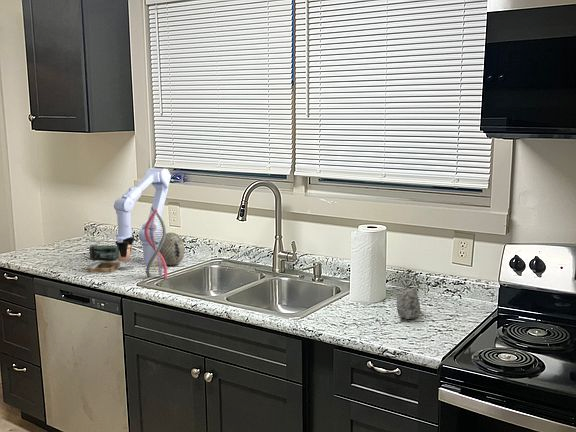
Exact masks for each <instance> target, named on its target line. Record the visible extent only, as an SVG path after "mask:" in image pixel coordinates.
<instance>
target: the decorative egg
mask: <svg viewBox="0 0 576 432" xmlns="http://www.w3.org/2000/svg"><path fill="white" fill-rule="evenodd" d="M161 240H162V239H161ZM160 242H161V241H160ZM159 245H160V243H159ZM185 250H186V249H185V244H184V240H182V238H181V236H180V235H178V234H177V233H175V232H166V237H165V241H164V243H163V246H162V248H161V249H160V251H159V252H160V254H161V255H162V256H163V258H164V260H165V262H166V265H169V266H175V265H178V264H179V263H180V262H182V260H183V259H184V257H185V252H186V251H185Z"/></svg>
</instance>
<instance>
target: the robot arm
mask: <svg viewBox="0 0 576 432" xmlns="http://www.w3.org/2000/svg"><path fill="white" fill-rule="evenodd" d="M144 173H145V174H144V176H143V177H142V179H141V180H140V181H139V182H138V183H137V184H136V185H135V186H131V187H129V188H128V190H127V191H126V192H125V193H124V194H123V195H122V196H121V197H119V198H117V199H116V200H115V201H114V204H113V209H114V210H115V214H116V217H117V218H116V219H117V234H115V237H116V238H117V240H116V241H115V244H116V245H115V246H118V248H119V251H120V255H121V257H126V255H127V247H128V244H130V245H131V248H130V253H131V251H132V246H133V242H134V240H135V237H134V236H133V231H132V219H131V213H132V210H133V208H134V205H135V203H136V202H137V201H138V200H139V198H141V197H142V192H143V191H144V190H145V189H147V188H148V187H149V186H151V185H152V186H153V187H154V189H155V191H154V192H155V193H154V195H153V200H152V204H151V207H154V209H157V210H158V214H159V215H160V216H161V217H162V215H163V211H164V206H165V204H166V203H165V202H166V200H167V196H168V193H169V186H170V182H171V179H172V175H171V173H170V171H169V169H167V168H159V167H158V168H156V167H150V168H149V167H148V169H147V170H146V171H145V172H144ZM149 210H150V211H149V215H148V218H147V220H148V219H149V218H150V217H151V215H152V213H153V211H152V209H151V208H150V209H149ZM155 216H156V215H155ZM156 217H157V216H156ZM156 217H154V218H156ZM156 219H159V218H156ZM156 219H154V220H155V221H160V220H156ZM155 221H153V222H154V223H158V224H154V223H150V224H153V225H158V226H153V227H157V228H152V229H155V230H153V232H163V231H158V230H163V229H160V228H162V227H160V226H161V225H160V224H161V223H160V222H155ZM146 224H147V221H146V222H145V223H144V224H142V227H141V229H140V230H139V232H138V239H139V240H140V242H141V244H142V254H143V255H142V256H143V259H142V261H141V262H140V264H148V263H149V261H150V260H151V258H152V256H153V255H154V253H155V250H154V249H153V248H152V247H151V245H150V244H149V243H148V241H147V240H146V237H145V234H144V233H145V232H144V231H145V230H144V229H145V226H146ZM149 226H151V225H149ZM148 229H150V227H148ZM148 231H150V230H148ZM147 234H150V233H147ZM152 234H163V233H152ZM148 236H149V237H150V236H151V235H148ZM153 236H163V235H153ZM157 238H162V237H154V238H153V239H157ZM150 239H151V238H150ZM159 240H161V239H157V240H153V241H158V242H154V244H155V246H156V245H159V243H160V241H159ZM151 242H152V240H151ZM156 243H158V244H156ZM156 247H159V246H156ZM156 249H158V248H156ZM157 256H158V255H157ZM157 256H156V257H157ZM157 258H158V257H157ZM157 258H155V259H156V260H158V259H157ZM159 259H160V258H159ZM156 260H153V261H155V262H152V263H154V264H157V265H158V263H156V262H158V261H156ZM159 261H162V260H159ZM160 263H162V262H160ZM162 264H163V263H162Z"/></svg>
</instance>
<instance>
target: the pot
mask: <svg viewBox="0 0 576 432" xmlns="http://www.w3.org/2000/svg"><path fill="white" fill-rule="evenodd" d="M130 248H131V249H132V247H131V245H130V244H128V247H127V255H126V257H121V255H120V251H119V258H118V262H123V263H124V262H130V258H131V252H130Z"/></svg>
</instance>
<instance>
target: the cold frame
mask: <svg viewBox="0 0 576 432" xmlns="http://www.w3.org/2000/svg"><path fill="white" fill-rule="evenodd" d="M120 267H121V261H104V260H95V261H94V262H92V263H90V264H89V265H88V266H86V267H85V269H86V270H88V273H104V274H105V273H106V274H107V273H109V274H110V273H113V272H114V271H115V270H117V269H119V268H120Z"/></svg>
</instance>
